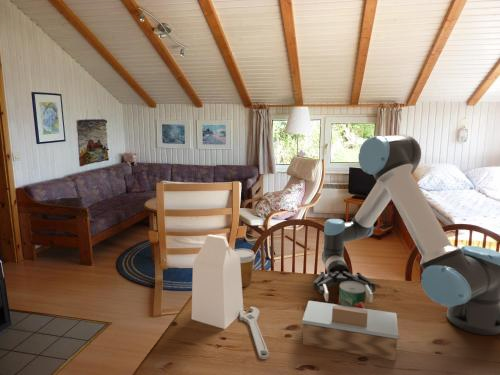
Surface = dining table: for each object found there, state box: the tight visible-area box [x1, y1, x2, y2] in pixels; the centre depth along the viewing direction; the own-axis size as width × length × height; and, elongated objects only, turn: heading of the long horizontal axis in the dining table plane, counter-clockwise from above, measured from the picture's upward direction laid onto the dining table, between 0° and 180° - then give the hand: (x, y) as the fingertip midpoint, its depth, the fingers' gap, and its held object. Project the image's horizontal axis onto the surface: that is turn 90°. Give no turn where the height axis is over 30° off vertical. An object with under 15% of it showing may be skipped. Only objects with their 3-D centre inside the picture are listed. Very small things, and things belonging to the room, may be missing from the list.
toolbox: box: [302, 323, 398, 361], centre depth 108 cm, size 24×11×6 cm, turn 73°
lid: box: [301, 300, 400, 340], centre depth 106 cm, size 25×11×5 cm, turn 73°
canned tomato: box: [338, 281, 367, 309], centre depth 118 cm, size 8×8×11 cm
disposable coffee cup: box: [233, 248, 256, 288], centre depth 143 cm, size 10×10×12 cm
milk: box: [191, 234, 244, 330], centre depth 119 cm, size 12×12×26 cm
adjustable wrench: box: [239, 306, 270, 360], centre depth 112 cm, size 25×6×2 cm, turn 6°
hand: (349, 297), depth 119 cm, fingers open, 13 cm apart
